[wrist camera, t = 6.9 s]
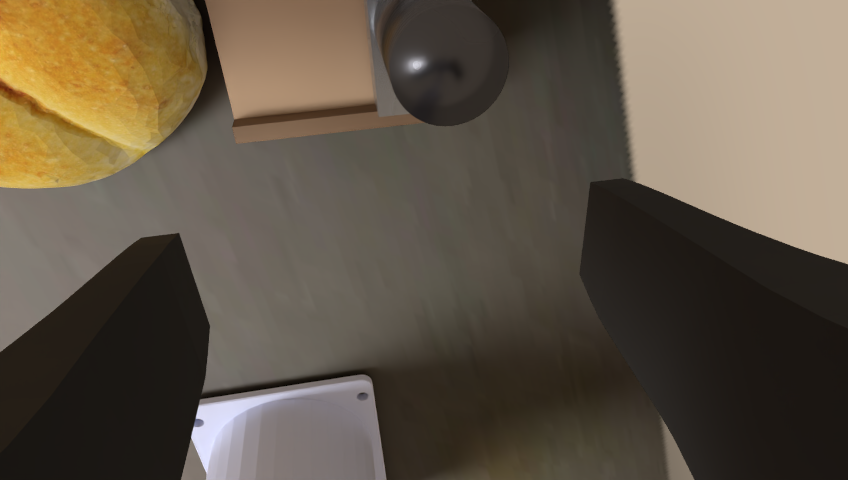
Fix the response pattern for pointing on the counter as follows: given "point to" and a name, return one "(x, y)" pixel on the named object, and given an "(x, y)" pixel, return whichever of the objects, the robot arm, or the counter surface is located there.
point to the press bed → (296, 67)
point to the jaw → (434, 59)
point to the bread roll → (92, 85)
